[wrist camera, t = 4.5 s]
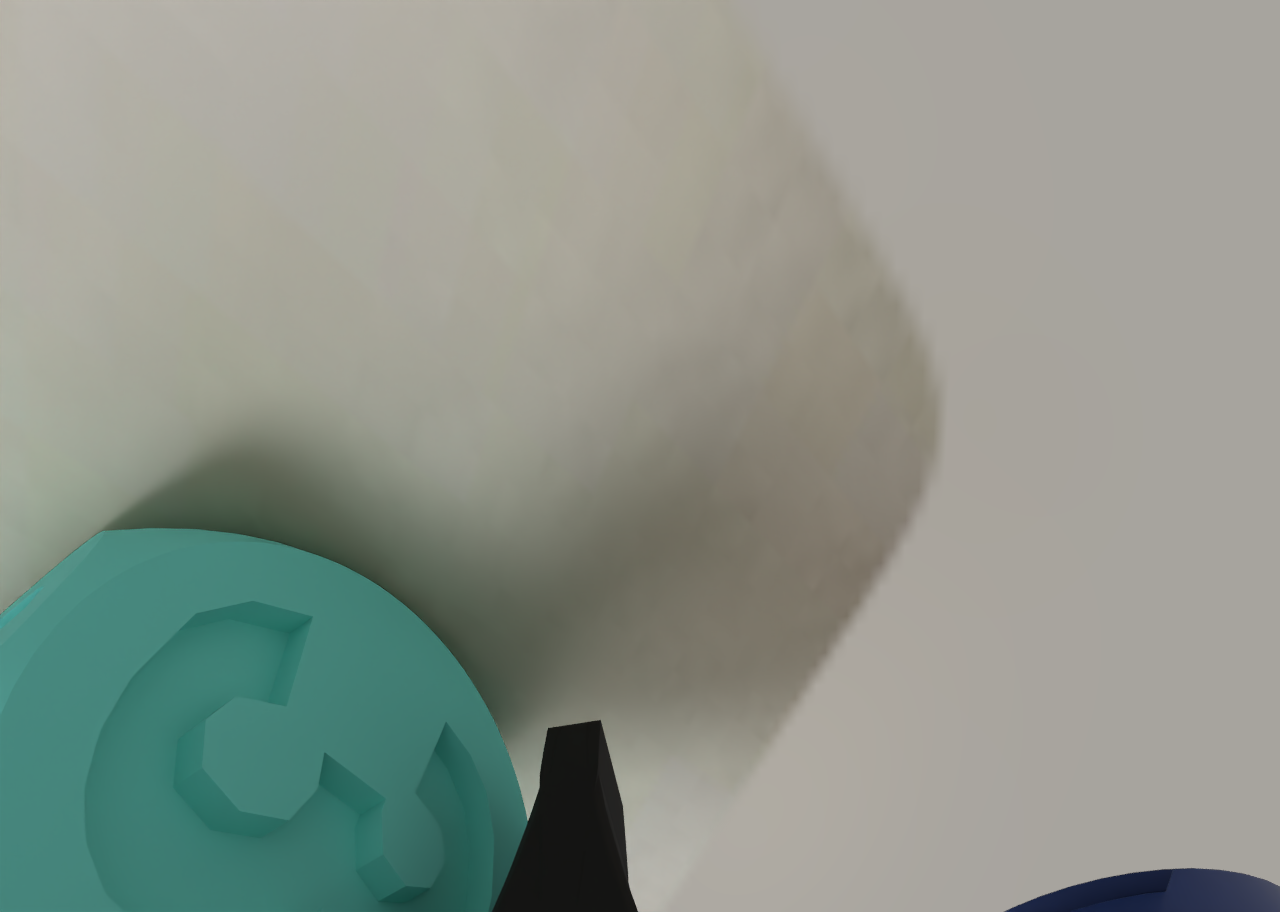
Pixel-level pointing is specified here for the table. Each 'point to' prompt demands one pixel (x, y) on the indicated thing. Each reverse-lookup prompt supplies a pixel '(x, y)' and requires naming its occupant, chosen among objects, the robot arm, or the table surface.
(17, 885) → the decorative dice
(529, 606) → the table surface
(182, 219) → the table surface
